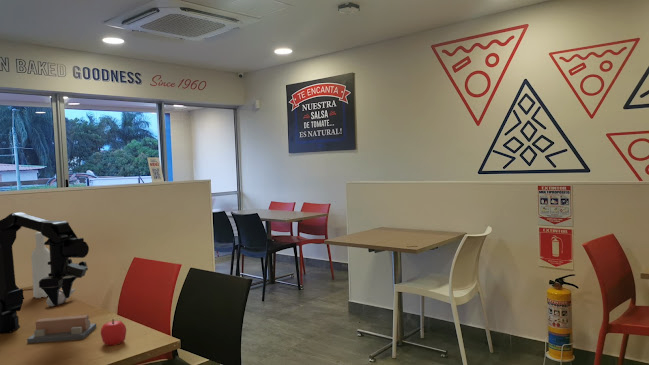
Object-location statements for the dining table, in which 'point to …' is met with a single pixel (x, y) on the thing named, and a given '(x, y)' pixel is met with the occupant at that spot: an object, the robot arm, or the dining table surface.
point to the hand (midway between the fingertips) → (61, 301)
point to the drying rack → (60, 335)
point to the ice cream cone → (60, 298)
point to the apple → (113, 332)
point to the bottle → (40, 265)
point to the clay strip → (63, 323)
